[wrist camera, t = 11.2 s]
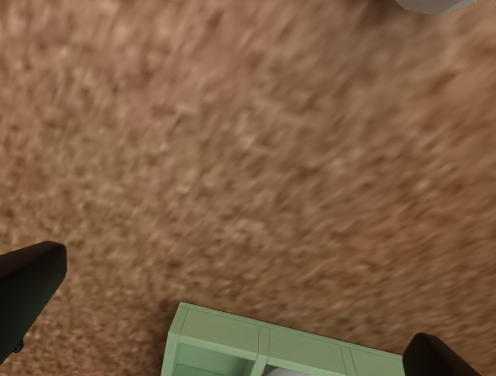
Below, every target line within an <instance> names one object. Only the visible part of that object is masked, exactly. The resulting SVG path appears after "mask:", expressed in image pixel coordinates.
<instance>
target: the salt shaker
mask: <svg viewBox="0 0 496 376" xmlns="http://www.w3.org/2000/svg"><path fill="white" fill-rule="evenodd" d="M394 1H395V2H397V3H398V4H399V5H400V6H401V7H402V8H404V9H405V10H406V11H412V12H418V13H423V14H429V15H441V14H444V13H447V12H450V11H453V10H456V9H459V8H462V7H465V6H469V5H472V4H473V3H475V2H476V1H478V0H394Z"/></svg>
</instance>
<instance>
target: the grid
mask: <svg viewBox="0 0 496 376" xmlns="http://www.w3.org/2000/svg"><path fill="white" fill-rule="evenodd" d="M402 357H403V356H401V355H397V354H393V353H389V352H385V351H381V350H377V349H372V348H368V347H364V346H360V345H356V344H352V343H348V342H344V341H340V340H336V339H332V338H328V337H324V336H319V335H315V334H311V333H307V332H303V331H299V330H295V329H291V328H287V327H283V326H279V325H275V324H270V323H266V322H262V321H258V320H254V319H250V318H246V317H242V316H238V315H234V314H230V313H226V312H222V311H217V310H213V309H209V308H205V307H201V306H197V305H193V304H189V303H185V302H180V304H179V307H178V309H177V311H176V314H175V316H174V319H173V321H172V324H171V326H170V329H169V331H168V336H167V341H166V347H165V353H164V358H163V364H162V370H161V375H160V376H263V369H264V367H265V365H266V364H269V365H273V366H277V367H281V368H285V369H290V370H294V371H298V372H302V373H306V374H310V375H314V376H405V374H404V369H403V364H402Z"/></svg>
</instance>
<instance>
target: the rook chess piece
mask: <svg viewBox="0 0 496 376" xmlns="http://www.w3.org/2000/svg"><path fill="white" fill-rule="evenodd" d="M263 376H314V375H310V374H306V373H302V372H298V371H294V370H290V369H285V368H281V367H277V366H273V365H269V364H266V365H265V367H264V369H263Z"/></svg>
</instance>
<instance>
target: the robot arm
mask: <svg viewBox="0 0 496 376" xmlns="http://www.w3.org/2000/svg"><path fill="white" fill-rule="evenodd" d="M66 272H67V250H66V246H65V245H64V244H61V243H57V242H53V241H44V242H41V243H38V244H34V245H31V246H28V247H25V248H22V249H18V250H15V251H12V252H9V253H6V254H3V255H0V365H1V364H2V363H3V362H4V361H5V359H6V358H7V357H8V356H9V355H10V354H11V353H12V352H15V353H18V352H20V351H21V349H22V348H23V337H24V335H25V334H26V332H27V331H28V330H29V328H30V327H31V326H32V324H33V323H34V321H35V320H36V318H37V317H38V316H39V314H40V313H41V311H42V310H43V308H44V307H45V306H46V304H47V303H48V301H49V300H50V299H51V297H52V296H53V294H54V293H55V291H56V290H57V289H58V287H59V286H60V284H61V283H62V281H63V280H64V278H65V276H66ZM402 364H403V369H404V374H405V376H481V375H480V374H479V373H478V372H476V371H475V370H474V369H473V368H472V367H471V366H470V365H469V364H467V363H466V362H465V361H464V360H463V359H462V358H461V357H459V356H458V355H457V354H456V353H455V352H454V351H453V350H452V349H450V348H449V347H448V346H447V345H446V344H445V343H444V342H443V341H441V340H440V339H439V338H438V337H436V336H434V335H430V334H426V333H421V332H420V333H417V334H416V335H415V336H414V338H413V339H412V341H411V342H410V344H409V345H408V347H407V348H406V350H405V351H404V353H403V357H402Z"/></svg>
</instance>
